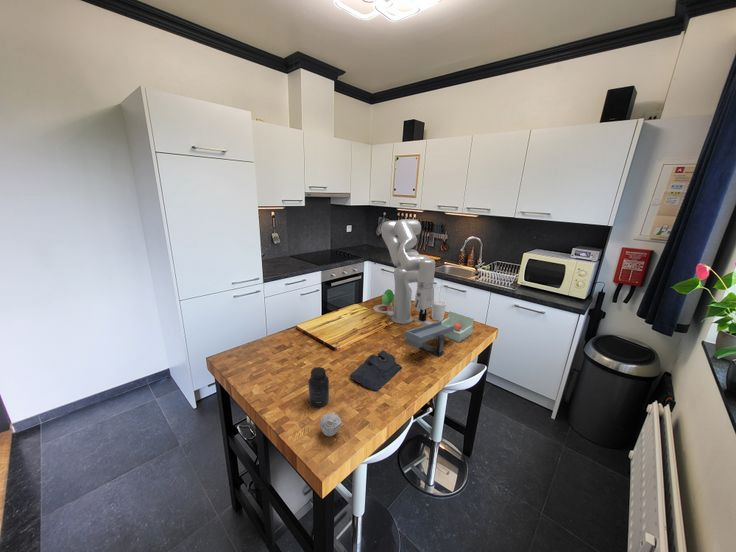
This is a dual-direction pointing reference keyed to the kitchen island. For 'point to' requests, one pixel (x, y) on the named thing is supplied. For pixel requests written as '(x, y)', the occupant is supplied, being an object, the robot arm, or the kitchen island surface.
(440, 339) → the lever stand
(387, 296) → the cactus trinket dish
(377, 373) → the folded navy shirt
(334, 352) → the kitchen island surface
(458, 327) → the ball
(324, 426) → the gray yarn ball
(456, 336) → the bin
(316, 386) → the supplement bottle
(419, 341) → the lever
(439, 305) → the white cup
